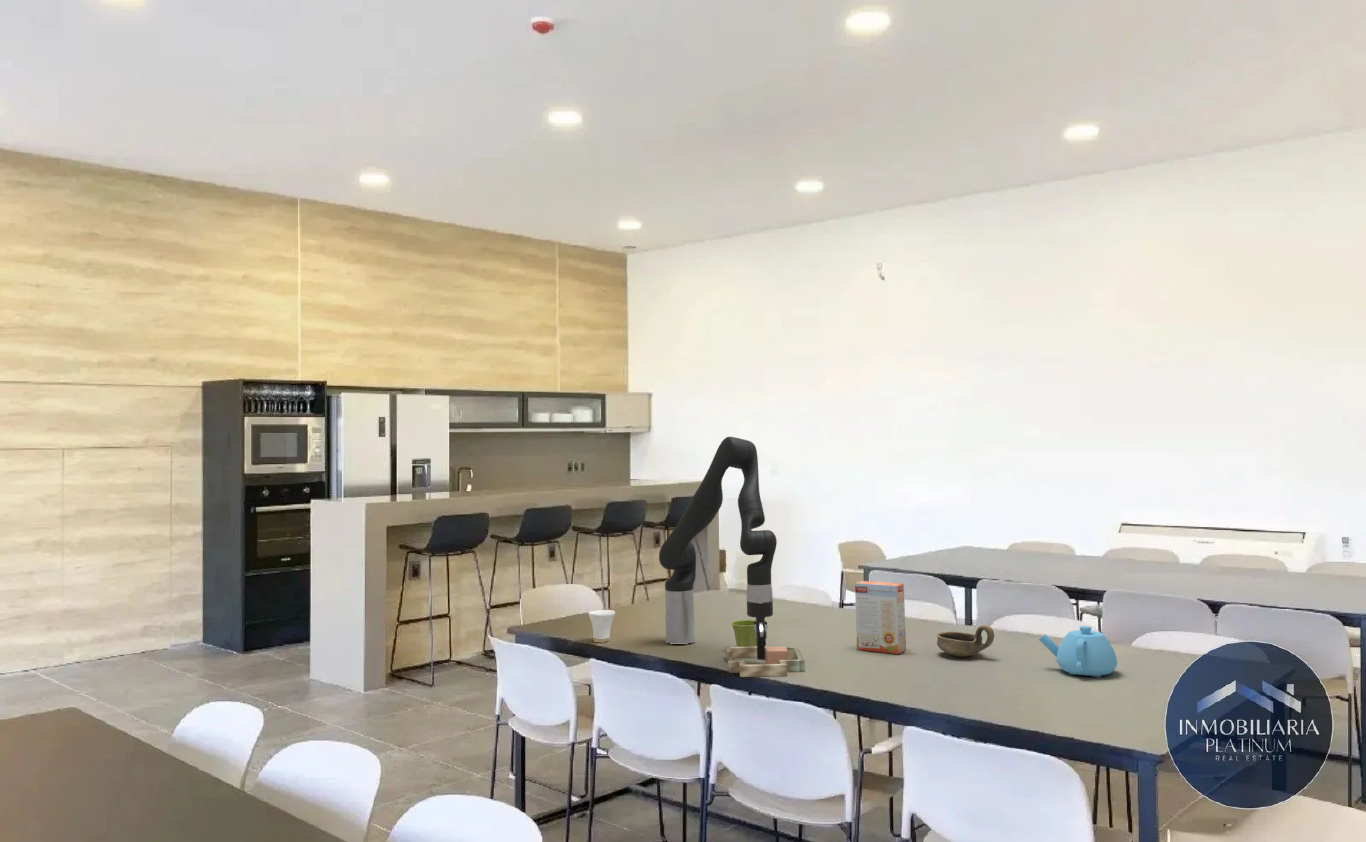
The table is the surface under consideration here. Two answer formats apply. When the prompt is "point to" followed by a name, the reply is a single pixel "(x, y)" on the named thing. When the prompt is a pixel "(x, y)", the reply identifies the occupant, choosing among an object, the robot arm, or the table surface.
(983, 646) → the bowl
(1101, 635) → the teapot
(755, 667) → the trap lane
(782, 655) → the block
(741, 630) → the plant pot
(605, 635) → the cup
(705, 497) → the robot arm
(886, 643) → the cracker box
